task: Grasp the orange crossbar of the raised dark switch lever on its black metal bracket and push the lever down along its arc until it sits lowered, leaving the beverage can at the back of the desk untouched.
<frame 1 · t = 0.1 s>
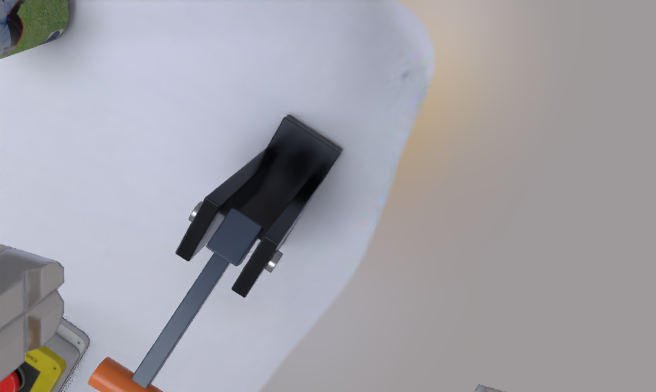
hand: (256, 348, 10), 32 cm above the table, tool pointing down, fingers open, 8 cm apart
switch lever: (188, 309, 33), point 13 cm above the table, hinge at 28.0°
emergency button: (28, 358, 56), on the table
switch bracket: (284, 182, 43), on the table
beverage can: (45, 11, 43), on the table
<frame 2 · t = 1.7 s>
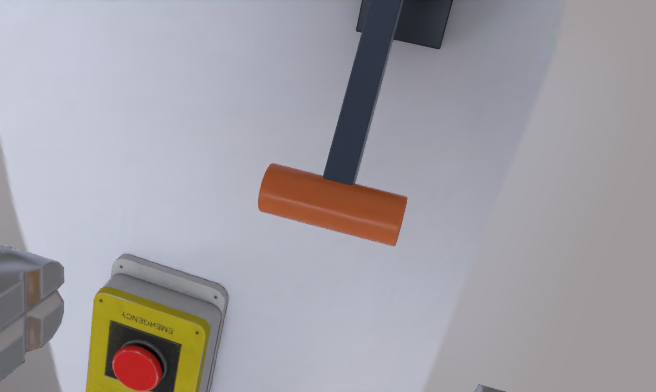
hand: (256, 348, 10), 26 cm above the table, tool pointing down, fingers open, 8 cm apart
switch lever: (373, 53, 20), point 13 cm above the table, hinge at 28.0°
emergency button: (162, 345, 44), on the table
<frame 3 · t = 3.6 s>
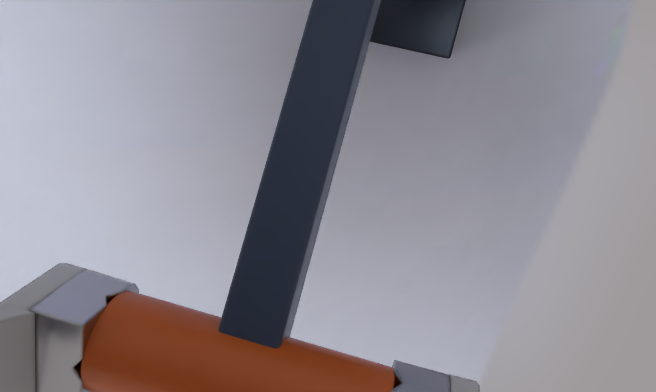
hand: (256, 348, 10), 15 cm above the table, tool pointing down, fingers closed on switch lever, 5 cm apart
switch lever: (328, 70, 10), point 13 cm above the table, hinge at 28.0°, touching gripper
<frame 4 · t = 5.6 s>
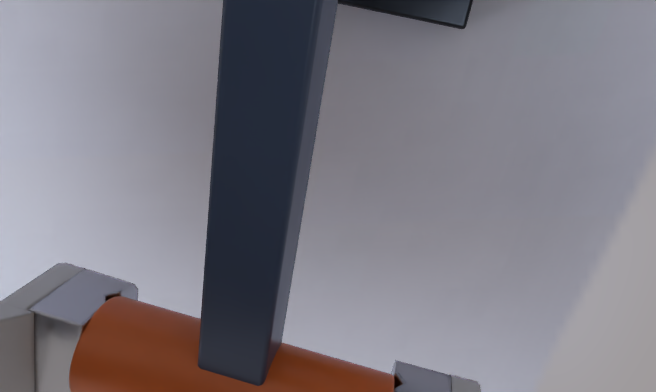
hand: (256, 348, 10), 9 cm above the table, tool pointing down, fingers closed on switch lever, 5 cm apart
switch lever: (277, 44, 6), point 10 cm above the table, hinge at -6.1°, touching gripper
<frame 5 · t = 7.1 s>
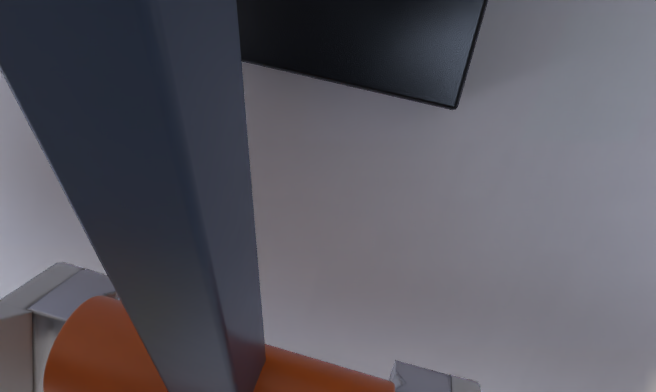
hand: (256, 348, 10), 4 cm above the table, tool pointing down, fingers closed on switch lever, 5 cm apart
switch lever: (152, 133, 4), point 8 cm above the table, hinge at -31.3°, touching gripper
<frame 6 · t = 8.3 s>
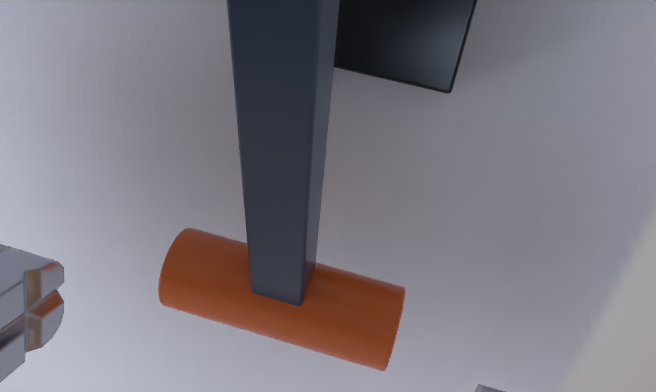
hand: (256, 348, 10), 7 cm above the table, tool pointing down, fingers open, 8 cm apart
switch lever: (285, 90, 7), point 8 cm above the table, hinge at -30.5°
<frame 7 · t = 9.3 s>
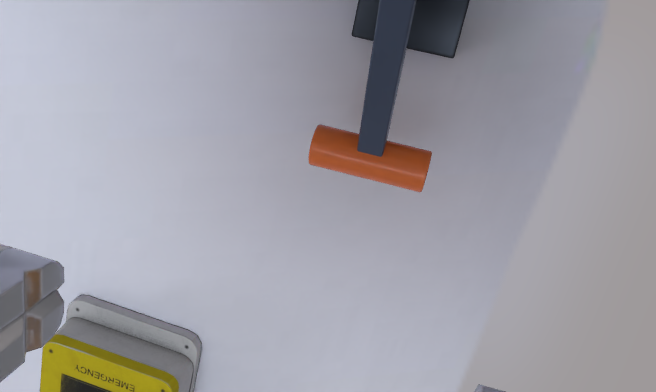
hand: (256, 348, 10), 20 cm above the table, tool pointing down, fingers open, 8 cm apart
switch lever: (390, 45, 19), point 8 cm above the table, hinge at -30.5°
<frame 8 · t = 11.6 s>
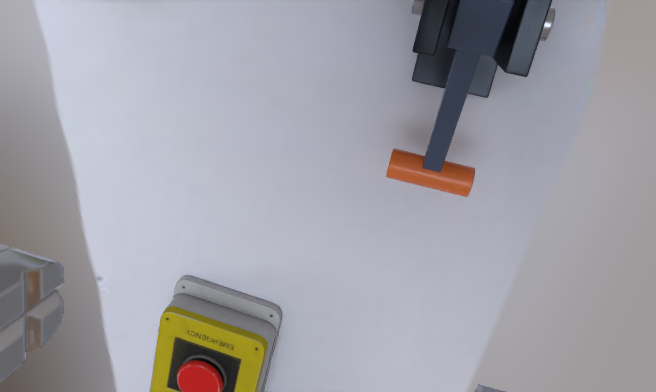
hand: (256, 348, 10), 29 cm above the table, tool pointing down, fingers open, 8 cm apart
switch lever: (452, 100, 28), point 8 cm above the table, hinge at -30.5°
emergency button: (218, 359, 48), on the table
switch bracket: (470, 9, 34), on the table
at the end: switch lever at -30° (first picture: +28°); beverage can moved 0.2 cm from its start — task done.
